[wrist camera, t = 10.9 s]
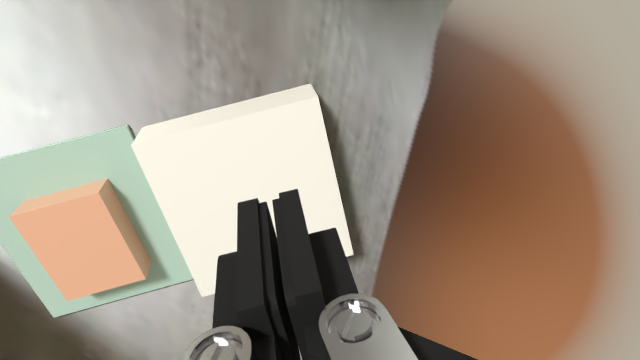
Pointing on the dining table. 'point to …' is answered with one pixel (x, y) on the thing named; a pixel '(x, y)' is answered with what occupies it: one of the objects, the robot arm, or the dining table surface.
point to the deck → (239, 172)
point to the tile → (83, 239)
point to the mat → (75, 170)
